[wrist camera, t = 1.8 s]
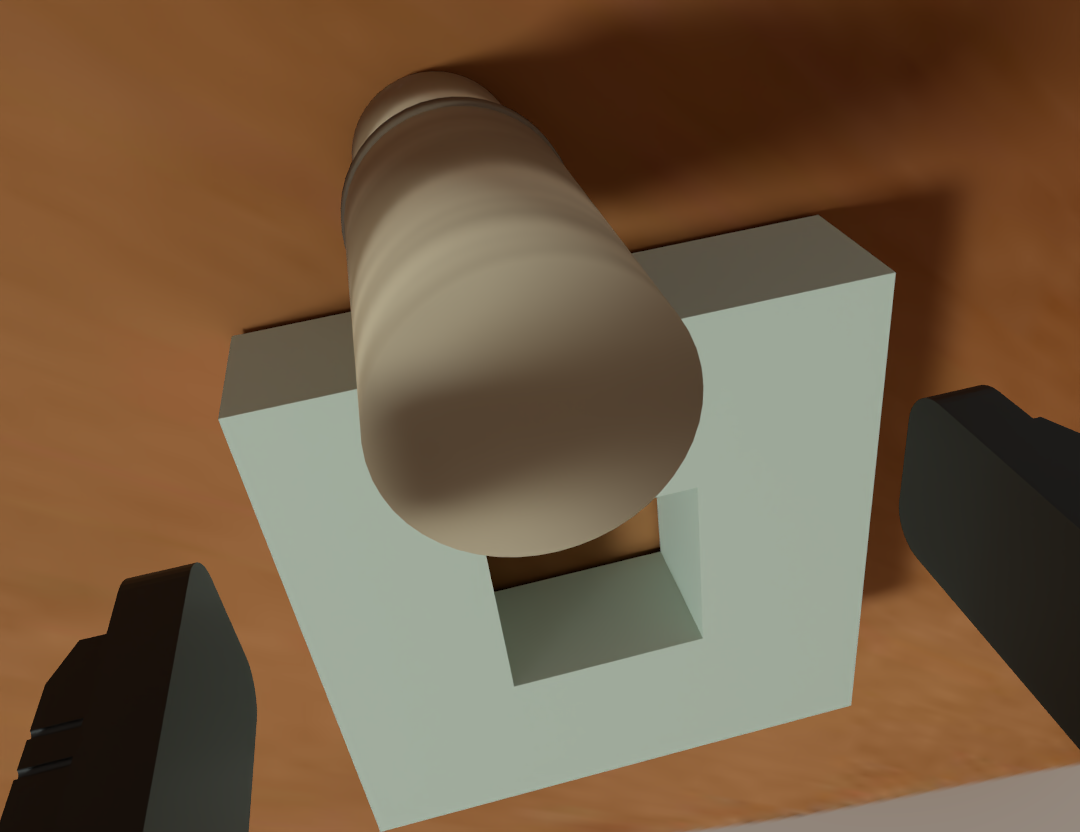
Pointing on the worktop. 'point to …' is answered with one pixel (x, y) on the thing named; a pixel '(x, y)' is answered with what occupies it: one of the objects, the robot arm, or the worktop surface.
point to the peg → (502, 331)
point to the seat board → (606, 591)
